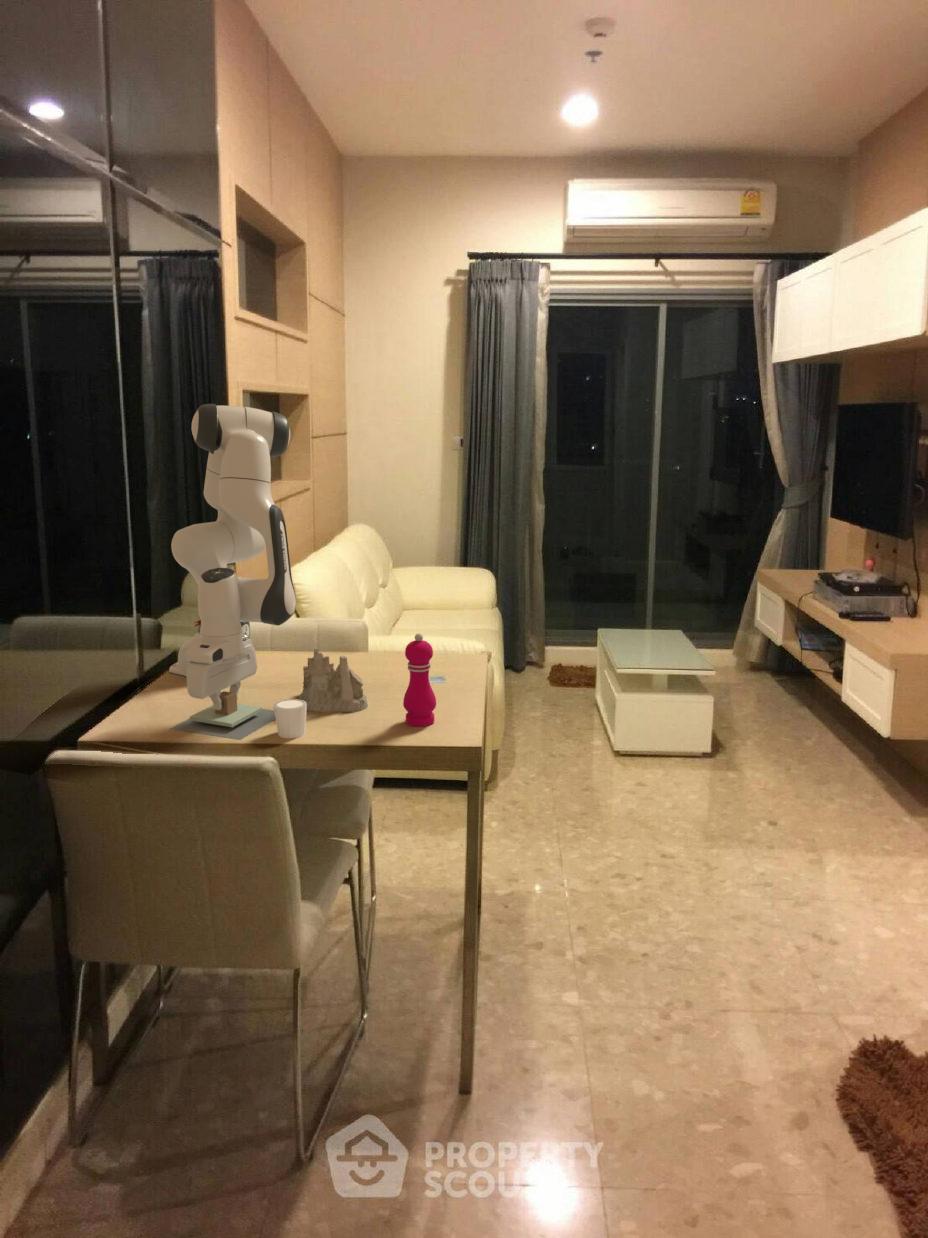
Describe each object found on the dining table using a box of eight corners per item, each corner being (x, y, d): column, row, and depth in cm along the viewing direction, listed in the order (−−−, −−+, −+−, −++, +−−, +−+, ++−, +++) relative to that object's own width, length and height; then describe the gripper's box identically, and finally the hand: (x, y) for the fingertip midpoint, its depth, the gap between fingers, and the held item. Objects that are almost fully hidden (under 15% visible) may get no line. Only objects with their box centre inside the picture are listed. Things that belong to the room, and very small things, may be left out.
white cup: (277, 730, 198) (275, 699, 196) (309, 728, 198) (308, 698, 196) (273, 741, 191) (271, 709, 189) (306, 740, 191) (305, 708, 190)
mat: (169, 730, 197) (169, 728, 197) (220, 704, 214) (220, 702, 214) (240, 741, 191) (240, 739, 191) (287, 714, 207) (287, 712, 207)
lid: (189, 720, 199) (188, 699, 198) (221, 704, 209) (219, 684, 208) (232, 727, 195) (230, 705, 194) (262, 710, 205) (261, 690, 204)
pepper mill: (410, 729, 197) (408, 639, 193) (399, 719, 204) (397, 631, 199) (441, 724, 200) (440, 635, 195) (429, 714, 207) (428, 628, 202)
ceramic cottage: (365, 713, 207) (361, 647, 205) (292, 715, 208) (287, 650, 205) (372, 695, 223) (369, 634, 220) (305, 697, 223) (300, 637, 220)
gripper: (238, 631, 209) (242, 689, 212) (179, 655, 190) (184, 718, 194) (262, 634, 206) (265, 693, 210) (204, 658, 188) (208, 722, 191)
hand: (225, 705), depth 202 cm, fingers closed on lid, 3 cm apart
